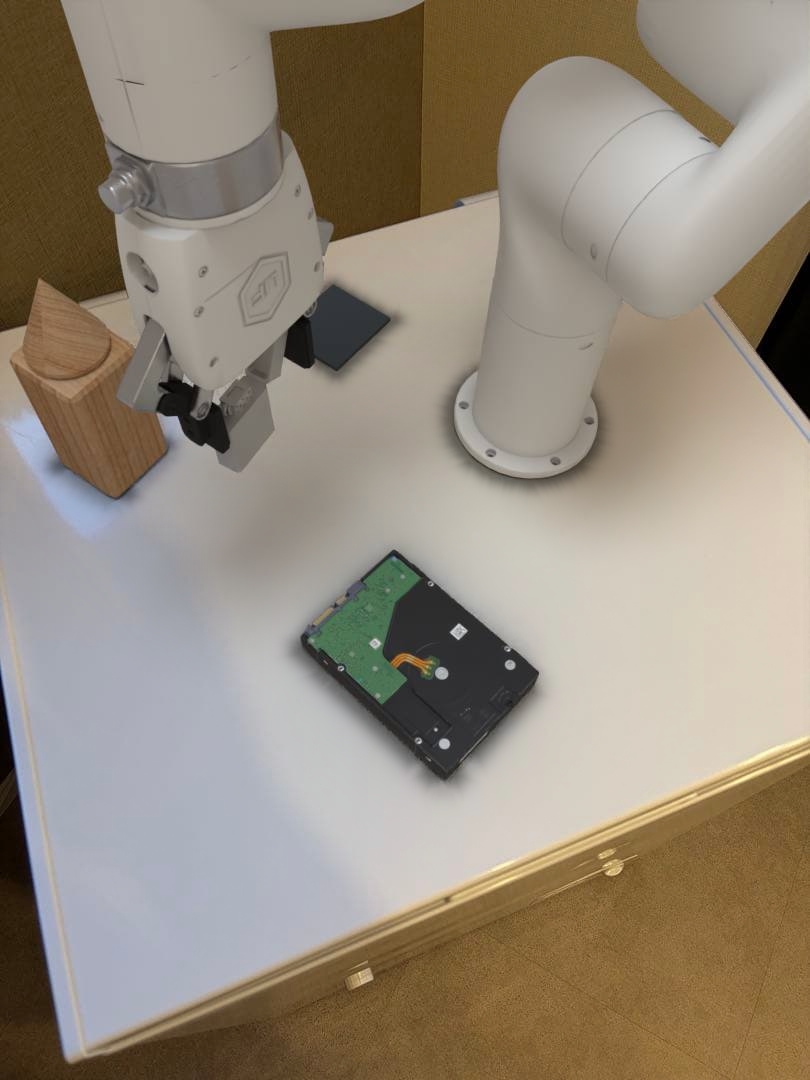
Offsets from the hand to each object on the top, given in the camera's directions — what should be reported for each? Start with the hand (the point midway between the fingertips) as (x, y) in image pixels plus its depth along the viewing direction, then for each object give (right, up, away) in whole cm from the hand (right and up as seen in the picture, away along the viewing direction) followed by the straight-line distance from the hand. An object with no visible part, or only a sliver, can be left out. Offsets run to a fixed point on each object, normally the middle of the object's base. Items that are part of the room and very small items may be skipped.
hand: (251, 395), depth 55 cm
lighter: (0, -2, +3) cm, 3 cm away
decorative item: (-15, -2, +21) cm, 26 cm away
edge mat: (+3, +11, +29) cm, 31 cm away
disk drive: (+10, -18, +12) cm, 24 cm away
